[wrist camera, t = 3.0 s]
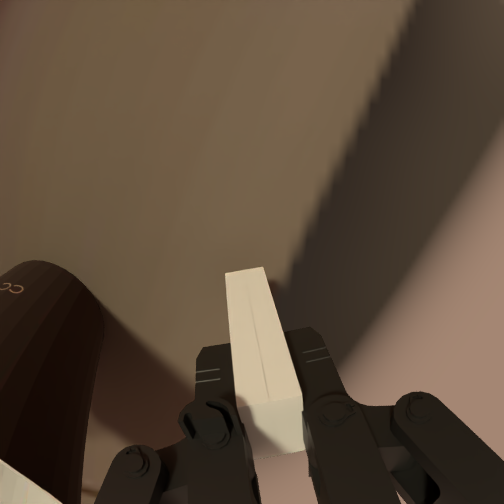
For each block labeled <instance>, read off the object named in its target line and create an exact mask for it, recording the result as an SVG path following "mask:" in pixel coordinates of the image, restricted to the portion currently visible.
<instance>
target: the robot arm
mask: <svg viewBox="0 0 504 504" xmlns="http://www.w3.org/2000/svg"><path fill="white" fill-rule="evenodd" d="M225 279H226V292H227V305H228V317H229V329H230V340H231V343H227V344H221V345H215V346H208V347H203V348H202V350H201V352H200V353H199V355H198V357H197V359H196V385H195V400H194V401H193V402H191V403H190V404H188V405H186V407H185V408H184V409H183V410H182V411H181V413H180V415H179V419H178V423H179V425H180V427H181V428H182V430H183V432H184V434H185V436H186V438H184V439H183V440H182V441H180V442H178V443H176V444H174V445H171V446H169V447H166V448H163V449H160V450H157V451H154V450H153V449H152V448H150V447H148V446H145V445H132V446H129V447H126V448H124V449H123V450H121V451H120V452H119V453H118V454H117V455H116V457H115V458H114V459H113V461H112V463H111V466H110V468H109V470H108V472H107V475H106V477H105V479H104V482H103V484H102V486H101V489H100V491H99V493H98V495H97V498H96V500H95V502H94V504H261V497H260V492H259V485H258V478H257V474H256V472H255V467H254V460H255V459H262V458H268V457H274V456H279V455H285V454H289V453H295V452H299V451H304V450H305V448H306V452H307V456H308V461H309V477H311V478H312V482H313V486H314V490H315V493H316V497H317V501H318V504H401V502H400V500H399V497H398V495H397V492H398V493H399V495H400V496H401V497H402V498H403V499H404V501H405V502H406V503H407V504H504V461H503V460H502V459H501V458H500V457H499V456H498V455H497V454H496V453H495V452H494V451H493V450H492V449H491V448H490V447H488V446H487V445H486V444H485V443H484V442H483V441H482V440H481V439H480V438H479V437H478V436H477V435H476V434H475V433H474V432H473V431H472V430H471V429H470V428H469V427H468V426H466V425H465V424H464V423H463V422H462V421H461V420H460V419H459V418H458V417H457V416H456V415H455V414H454V413H453V412H452V411H450V410H449V409H448V408H447V407H446V406H445V405H444V404H443V403H442V402H441V401H440V400H439V399H438V398H436V397H434V396H433V395H431V394H429V393H425V392H411V393H408V394H406V395H404V396H402V397H401V398H400V399H399V400H398V401H397V402H396V405H392V406H367V405H363V404H360V403H358V402H356V401H354V400H353V399H352V398H350V396H348V394H347V393H346V391H345V388H344V386H343V384H342V381H341V379H340V377H339V375H338V372H337V370H336V368H335V366H334V363H333V361H332V359H331V358H330V354H329V353H328V350H327V349H326V346H325V343H324V341H323V339H322V337H321V335H320V334H319V333H317V332H316V331H315V330H314V329H312V328H311V327H307V328H302V329H298V330H293V331H288V332H283V330H282V327H281V324H280V321H279V317H278V314H277V311H276V308H275V304H274V301H273V298H272V295H271V291H270V288H269V285H268V282H267V278H266V275H265V272H264V269H263V267H258V268H253V269H247V270H241V271H236V272H230V273H225ZM253 459H254V460H253ZM396 491H397V492H396Z"/></svg>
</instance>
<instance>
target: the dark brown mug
mask: <svg viewBox="0 0 504 504" xmlns="http://www.w3.org/2000/svg"><path fill="white" fill-rule="evenodd" d="M103 336H104V323H103V317H102V314H101V311H100V309H99V306H98V304H97V303H96V301H95V299H94V297H93V296H92V294H91V293H90V292H89V291H88V289H87V288H86V287H85V286H84V284H82V283H81V282H80V281H79V280H78V279H77V278H76V277H75V276H74V275H72V274H71V273H69V272H68V271H66V270H65V269H63V268H61V267H59V266H57V265H55V264H52V263H49V262H45V261H37V260H32V261H26V262H23V263H21V264H19V265H17V266H15V267H14V268H12V269H11V270H9V271H8V272H7V273H5V274H4V275H2V276H1V277H0V504H81V487H82V473H83V461H84V451H85V442H86V433H87V426H88V418H89V411H90V405H91V399H92V393H93V387H94V381H95V376H96V370H97V365H98V360H99V355H100V350H101V346H102V341H103Z"/></svg>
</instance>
